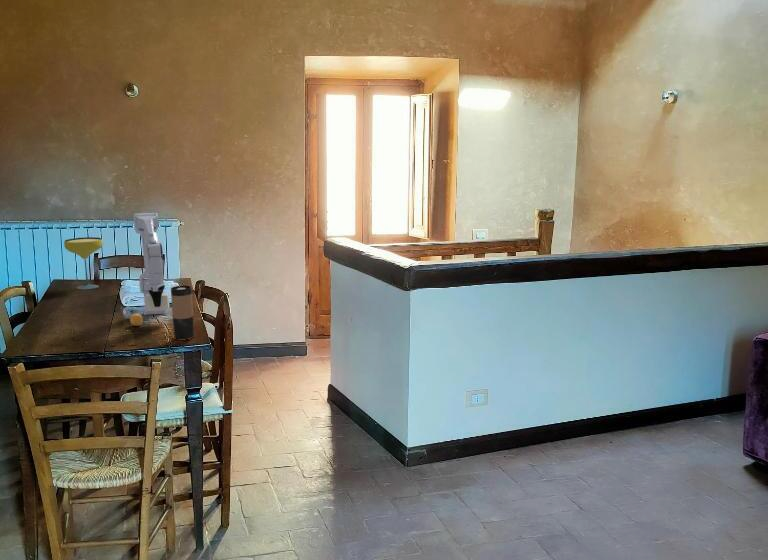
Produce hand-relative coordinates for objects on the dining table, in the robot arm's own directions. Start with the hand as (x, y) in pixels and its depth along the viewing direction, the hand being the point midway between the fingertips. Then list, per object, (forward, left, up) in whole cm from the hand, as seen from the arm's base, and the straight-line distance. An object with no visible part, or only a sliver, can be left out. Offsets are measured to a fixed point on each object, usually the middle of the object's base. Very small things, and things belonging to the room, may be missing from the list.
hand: (158, 304), depth 291 cm
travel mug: (-11, +25, -8) cm, 29 cm away
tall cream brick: (0, 0, -2) cm, 2 cm away
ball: (+9, +1, -6) cm, 11 cm away
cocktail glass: (+42, -84, -8) cm, 94 cm away
